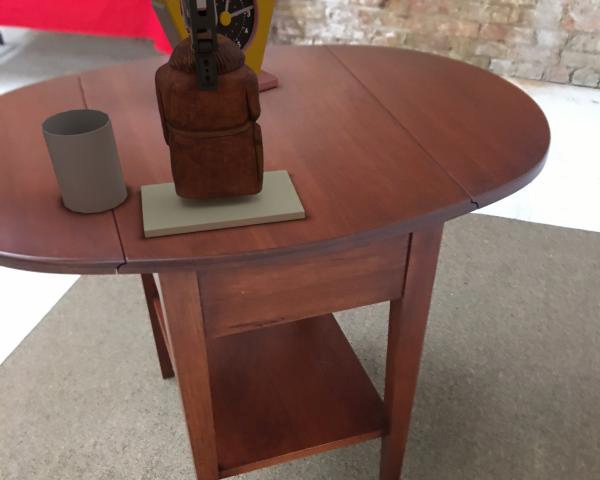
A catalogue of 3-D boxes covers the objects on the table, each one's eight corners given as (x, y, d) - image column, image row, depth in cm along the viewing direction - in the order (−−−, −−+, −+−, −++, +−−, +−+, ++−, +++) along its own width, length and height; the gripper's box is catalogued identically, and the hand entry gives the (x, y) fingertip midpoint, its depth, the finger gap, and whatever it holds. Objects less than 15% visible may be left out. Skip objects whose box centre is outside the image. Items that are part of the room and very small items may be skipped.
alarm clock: (186, 114, 105) (164, -42, 90) (158, 98, 110) (133, -52, 95) (291, 83, 114) (287, -63, 99) (261, 70, 119) (253, -71, 104)
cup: (95, 177, 89) (76, 104, 82) (139, 191, 86) (124, 116, 79) (50, 203, 84) (26, 127, 77) (96, 218, 81) (75, 141, 74)
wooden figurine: (261, 175, 84) (251, 23, 72) (266, 197, 80) (258, 39, 67) (171, 183, 83) (146, 29, 71) (172, 206, 79) (145, 46, 66)
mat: (145, 237, 77) (143, 230, 77) (142, 192, 86) (140, 185, 85) (304, 218, 80) (304, 211, 79) (286, 176, 88) (286, 169, 88)
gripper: (141, -117, 65) (168, 61, 76) (147, -96, 55) (176, 105, 66) (214, -120, 66) (229, 56, 77) (233, -100, 56) (247, 99, 68)
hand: (205, 78), depth 72 cm, fingers closed on wooden figurine, 6 cm apart
